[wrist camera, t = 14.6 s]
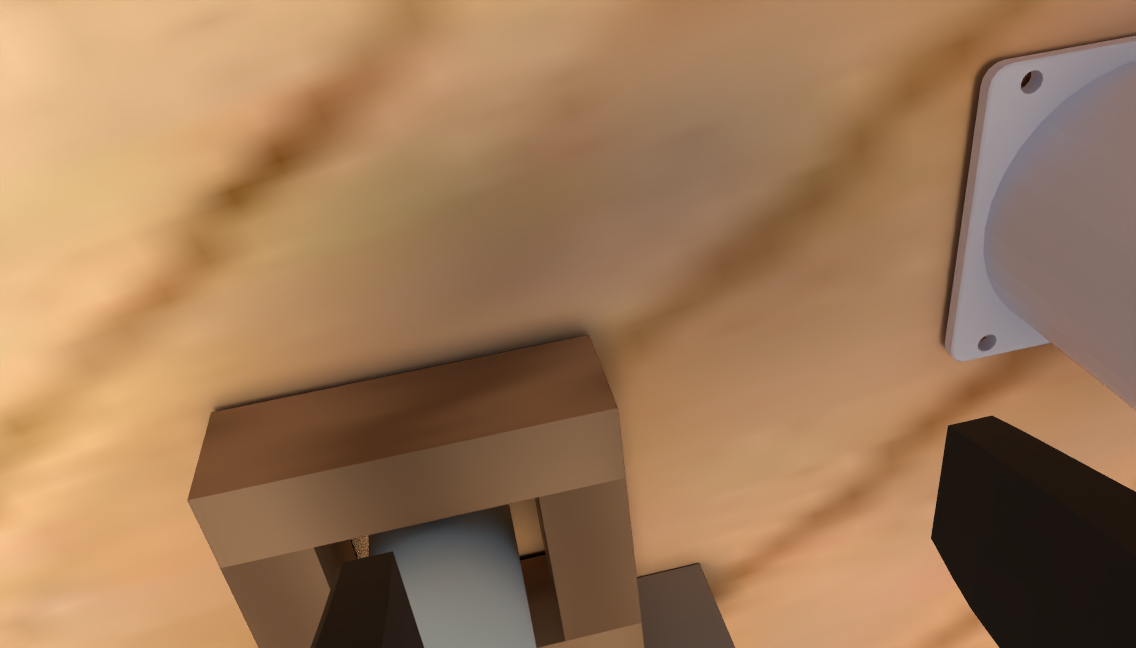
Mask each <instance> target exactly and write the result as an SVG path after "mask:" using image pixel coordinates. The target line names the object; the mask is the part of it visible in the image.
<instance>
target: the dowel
mask: <svg viewBox="0 0 1136 648" xmlns="http://www.w3.org/2000/svg"><path fill="white" fill-rule="evenodd" d="M392 551H393V553H394V556H395V559H396V562H397V565H398V568H399V571H400V574H401V577H402V580H403V584H404V587H405V590H406V593H407V596H408V599H409V602H410V605H411V608H412V611H413V615H414V618H415V621H416V624H417V627H418V630H419V633H420V636H421V639H422V642H423V645H424V648H536V642H535V637H534V632H533V627H532V621H531V616H530V611H529V606H528V600H527V595H526V590H525V585H524V579H523V574H522V569H521V564H520V558H519V553H518V548H517V543H516V537H515V532H514V527H513V521H512V516H511V511H510V506H509V504H506V505H501V506H497V507H493V508H488V509H484V510H479V511H475V512H470V513H466V514H461V515H457V516H452V517H448V518H443V519H439V520H434V521H430V522H425V523H421V524H416V525H412V526H407V527H403V528H398V529H394V530H389V531H385V532H381V533H376V534H372V535H369V556H374V555H378V554H383V553H387V552H392Z"/></svg>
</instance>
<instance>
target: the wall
mask: <svg viewBox="0 0 1136 648" xmlns="http://www.w3.org/2000/svg"><path fill="white" fill-rule="evenodd" d="M637 585H638V594H639V604H640V613H641V622H642V631H643V640H644V648H735V646H734V644H733V641H732V639H731V637H730V634H729V632H728V630H727V627H726V625H725V623H724V620H723V618H722V616H721V613H720V611H719V609H718V606H717V604H716V602H715V599H714V597H713V594H712V592H711V590H710V587H709V585H708V583H707V580H706V578H705V576H704V573H703V571H702V569H701V566H700V564H695V565H691V566H687V567H683V568H678V569H674V570H670V571H666V572H661V573H657V574H653V575H649V576H644V577H640V578H637Z"/></svg>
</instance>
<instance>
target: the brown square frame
mask: <svg viewBox="0 0 1136 648" xmlns="http://www.w3.org/2000/svg"><path fill="white" fill-rule="evenodd" d="M533 498H535V500H536V505H537V510H538V516H539V521H540V526H541V532H542V537H543V542H544V547H545V553H546V555H542V556H538V557H533V558H529V559H525V560H520V564H521V569H522V574H523V579H524V585H525V590H526V595H527V600H528V606H529V611H530V616H531V621H532V627H533V632H534V637H535V642H536V648H644V640H643V631H642V622H641V613H640V604H639V594H638V585H637V576H636V567H635V558H634V549H633V540H632V531H631V522H630V513H629V504H628V495H627V486H626V477H625V467H624V458H623V449H622V440H621V431H620V422H619V413H618V407H617V404H616V402H615V399H614V397H613V394H612V392H611V389H610V387H609V384H608V382H607V379H606V377H605V374H604V372H603V369H602V367H601V364H600V362H599V360H598V357H597V355H596V352H595V350H594V347H593V345H592V342H591V340H590V337H589V335H586V336H581V337H576V338H571V339H567V340H562V341H557V342H552V343H547V344H542V345H537V346H532V347H528V348H523V349H518V350H513V351H508V352H503V353H498V354H494V355H489V356H484V357H479V358H474V359H469V360H464V361H460V362H455V363H450V364H445V365H440V366H435V367H430V368H425V369H421V370H416V371H411V372H406V373H401V374H396V375H391V376H387V377H382V378H377V379H372V380H367V381H362V382H357V383H353V384H348V385H343V386H338V387H333V388H328V389H323V390H318V391H314V392H309V393H304V394H299V395H294V396H289V397H284V398H280V399H275V400H270V401H265V402H260V403H255V404H250V405H245V406H241V407H236V408H231V409H226V410H221V411H216V412H211V415H210V419H209V423H208V426H207V430H206V434H205V438H204V441H203V445H202V449H201V452H200V456H199V460H198V463H197V467H196V471H195V474H194V478H193V482H192V486H191V489H190V493H189V497H188V503H189V505H190V507H191V509H192V511H193V513H194V515H195V517H196V519H197V521H198V523H199V525H200V527H201V529H202V531H203V534H204V536H205V538H206V540H207V542H208V544H209V546H210V548H211V550H212V552H213V554H214V556H215V558H216V560H217V563H218V565H219V567H220V569H221V571H222V573H223V575H224V577H225V579H226V581H227V583H228V585H229V587H230V589H231V591H232V594H233V596H234V598H235V600H236V602H237V604H238V606H239V608H240V610H241V612H242V614H243V616H244V618H245V620H246V622H247V625H248V627H249V629H250V631H251V633H252V635H253V637H254V639H255V641H256V643H257V645H258V647H259V648H310V647H311V645H312V642H313V639H314V637H315V634H316V631H317V628H318V625H319V622H320V620H321V617H322V614H323V611H324V608H325V605H326V602H327V599H328V596H329V593H330V589H331V586H332V583H333V579H334V576H335V572H336V571H337V569H338V568H339V567H340V566H341V564H342V563H343V562H347V561H352V560H356V559H357V558H356V555H355V553H354V550H353V547H352V544H351V541H350V539H354V538H358V537H363V536H367V535H372V534H376V533H381V532H385V531H389V530H394V529H398V528H403V527H407V526H412V525H416V524H421V523H425V522H430V521H434V520H439V519H443V518H448V517H452V516H457V515H461V514H466V513H470V512H475V511H479V510H484V509H488V508H493V507H497V506H501V505H506V504H510V503H515V502H519V501H524V500H528V499H533Z"/></svg>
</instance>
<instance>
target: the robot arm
mask: <svg viewBox="0 0 1136 648" xmlns="http://www.w3.org/2000/svg"><path fill="white" fill-rule="evenodd" d="M1029 72H1031V75H1032V76H1031V78H1030V80H1029V82H1028V83H1027V84H1026V85H1025V86H1024V87H1022V88H1021V82H1022V80H1023V78H1024V77H1025V75H1026V74H1027V73H1029ZM986 335H987V336H986ZM984 336H986V338H985V339H984V340H983V341H981V342H979V341H980V340H981V339H982V338H983V337H984ZM1047 343H1052V344H1053V345H1054V346H1056V347H1057V348H1058V349H1059V350H1061V351H1062V352H1063V353H1064V354H1066V355H1067V356H1068V357H1069V358H1071V359H1072V360H1073V361H1074V362H1076V363H1077V364H1078V365H1080V366H1081V367H1082V368H1083V369H1085V370H1086V371H1087V372H1088V373H1090V374H1091V375H1092V376H1093V377H1095V378H1096V379H1097V380H1098V381H1100V382H1101V383H1102V384H1103V385H1105V386H1106V387H1107V388H1108V389H1110V390H1111V391H1112V392H1113V393H1115V394H1116V395H1117V396H1118V397H1120V398H1121V399H1122V400H1123V401H1125V402H1126V403H1127V404H1128V405H1130V406H1131V407H1132V408H1133V409H1135V410H1136V36H1131V37H1125V38H1120V39H1114V40H1109V41H1104V42H1098V43H1093V44H1087V45H1082V46H1076V47H1071V48H1065V49H1060V50H1054V51H1049V52H1043V53H1038V54H1032V55H1027V56H1021V57H1016V58H1010V59H1005V60H1002V61H1000V62H997V63H996V64H994V65H993V66H992V67H991V68H989V70H988V71H987V72H986V74H985V75H984V77H983V80H982V83H981V87H980V94H979V102H978V109H977V116H976V123H975V130H974V137H973V145H972V152H971V159H970V166H969V173H968V180H967V188H966V195H965V202H964V209H963V216H962V224H961V231H960V238H959V245H958V252H957V259H956V267H955V274H954V281H953V288H952V295H951V302H950V310H949V317H948V324H947V331H946V338H945V350H946V351H947V352H948V354H950V355H951V356H952V357H953V358H954V359H955V360H957V361H969V360H974V359H978V358H983V357H987V356H992V355H997V354H1001V353H1006V352H1010V351H1015V350H1020V349H1024V348H1029V347H1033V346H1038V345H1042V344H1047ZM931 539H932V541H933V543H934V544H935V546H936V548H937V550H938V552H939V554H940V555H941V557H942V559H943V561H944V563H945V565H946V566H947V568H948V570H949V572H950V574H951V576H952V577H953V579H954V581H955V582H956V584H957V586H958V587H959V589H960V591H961V593H962V594H963V596H964V598H965V599H966V601H967V603H968V604H969V606H970V608H971V609H972V611H973V612H974V613H975V615H976V616H977V618H978V619H979V620H980V622H981V623H982V625H983V626H984V627H985V629H986V630H987V631H988V633H989V634H990V635H991V637H992V638H993V640H994V641H995V642H996V644H997V645H998V646H999V648H1136V492H1135V491H1133V490H1131V489H1129V488H1127V487H1126V486H1124V485H1122V484H1120V483H1118V482H1116V481H1114V480H1112V479H1111V478H1109V477H1107V476H1105V475H1103V474H1101V473H1099V472H1098V471H1096V470H1094V469H1092V468H1090V467H1088V466H1087V465H1085V464H1083V463H1081V462H1079V461H1077V460H1075V459H1074V458H1072V457H1070V456H1068V455H1066V454H1064V453H1063V452H1061V451H1059V450H1057V449H1055V448H1053V447H1051V446H1050V445H1048V444H1046V443H1044V442H1042V441H1040V440H1038V439H1037V438H1035V437H1033V436H1031V435H1029V434H1027V433H1025V432H1023V431H1022V430H1020V429H1018V428H1016V427H1014V426H1012V425H1010V424H1008V423H1006V422H1004V421H1002V420H1000V419H998V418H996V417H994V416H988V417H984V418H979V419H975V420H971V421H966V422H962V423H957V424H953V425H948V429H947V436H946V443H945V449H944V456H943V462H942V469H941V476H940V482H939V489H938V495H937V502H936V509H935V515H934V522H933V529H932V535H931ZM310 648H424V645H423V642H422V639H421V636H420V633H419V630H418V627H417V624H416V621H415V618H414V615H413V611H412V608H411V605H410V602H409V599H408V596H407V593H406V590H405V587H404V584H403V580H402V577H401V574H400V571H399V568H398V565H397V562H396V559H395V556H394V553H393V551H392V552H387V553H383V554H378V555H374V556H369V557H365V558H361V559H356V560H352V561H347V562H343V563H342V564H341V566H340V567H339V568H338V569H337V571H336V572H335V576H334V579H333V583H332V586H331V589H330V593H329V596H328V599H327V602H326V605H325V608H324V611H323V614H322V617H321V620H320V622H319V625H318V628H317V631H316V634H315V637H314V639H313V642H312V645H311V647H310Z"/></svg>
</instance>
